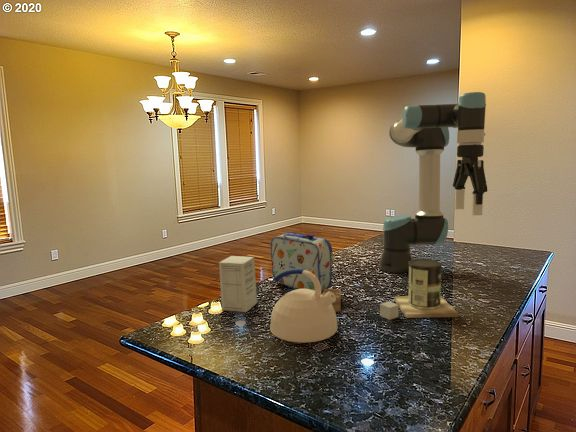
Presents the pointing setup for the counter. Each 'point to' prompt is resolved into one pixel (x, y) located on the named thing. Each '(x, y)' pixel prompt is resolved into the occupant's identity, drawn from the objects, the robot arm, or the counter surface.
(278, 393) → the counter surface
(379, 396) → the counter surface
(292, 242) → the lunch box
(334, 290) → the oak block
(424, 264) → the coffee can
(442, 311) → the maple board
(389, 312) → the beige tilted cube
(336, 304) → the walnut block
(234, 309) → the supplement box
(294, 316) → the kettle
